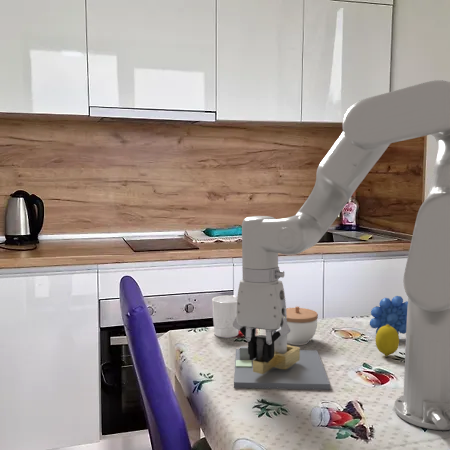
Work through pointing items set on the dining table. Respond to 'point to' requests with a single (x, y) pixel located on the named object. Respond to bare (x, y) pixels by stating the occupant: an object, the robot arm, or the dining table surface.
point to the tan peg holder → (277, 361)
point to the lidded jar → (301, 325)
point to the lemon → (387, 340)
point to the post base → (281, 371)
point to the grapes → (390, 314)
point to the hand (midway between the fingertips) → (261, 358)
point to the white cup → (224, 316)
